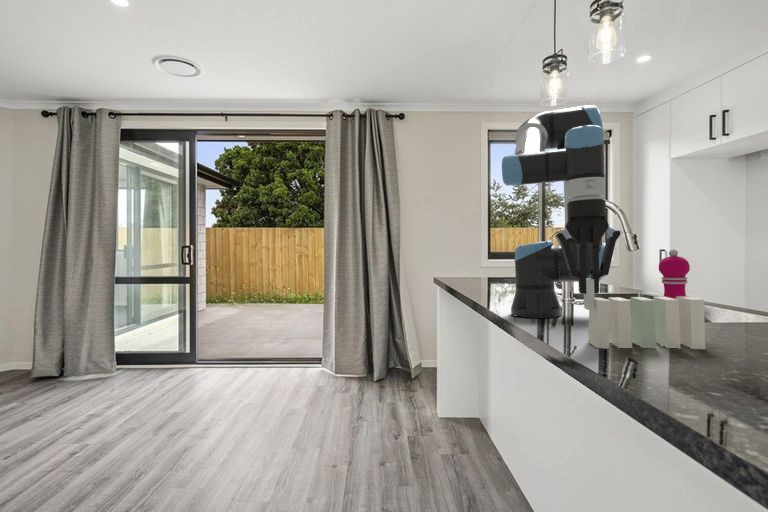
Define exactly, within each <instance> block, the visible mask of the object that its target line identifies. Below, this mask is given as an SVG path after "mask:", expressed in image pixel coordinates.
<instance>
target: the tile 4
mask: <svg viewBox="0 0 768 512" xmlns="http://www.w3.org/2000/svg"><path fill="white" fill-rule="evenodd" d="M652 300H655V329H656V343H659V344H661V345H663V346H665V347H666V348H679V349H678V350H681V344H680V319H679V300H678V299H673V298H669V297H663V296H653V297H652ZM666 348H665V349H666Z"/></svg>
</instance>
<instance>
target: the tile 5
mask: <svg viewBox="0 0 768 512" xmlns="http://www.w3.org/2000/svg"><path fill="white" fill-rule="evenodd" d="M676 299H678V300H679V319H680V343H681V344H683V345H682V346H684V345H685V346H684V347H686V346H687V347H686V348H688V347H689V349H691V350H706V332H705V331H706V330H705V329H706V327H705V326H706V325H705V323H706V322H705V300H704V298H703V299H702V298H700V297H693V296H689V295H686V296H676ZM681 344H680V345H681Z"/></svg>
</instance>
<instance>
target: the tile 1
mask: <svg viewBox="0 0 768 512" xmlns="http://www.w3.org/2000/svg"><path fill="white" fill-rule="evenodd" d="M609 323H610V301H609V300H608V299H606V298H604V297H596V296H595V310H588V335H587V340H588V341H587V342H588V343H589V344H590V345H592V346H593V347H594V348H595V349H606V350H608V349H610V348H609V345H610V331H609Z"/></svg>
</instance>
